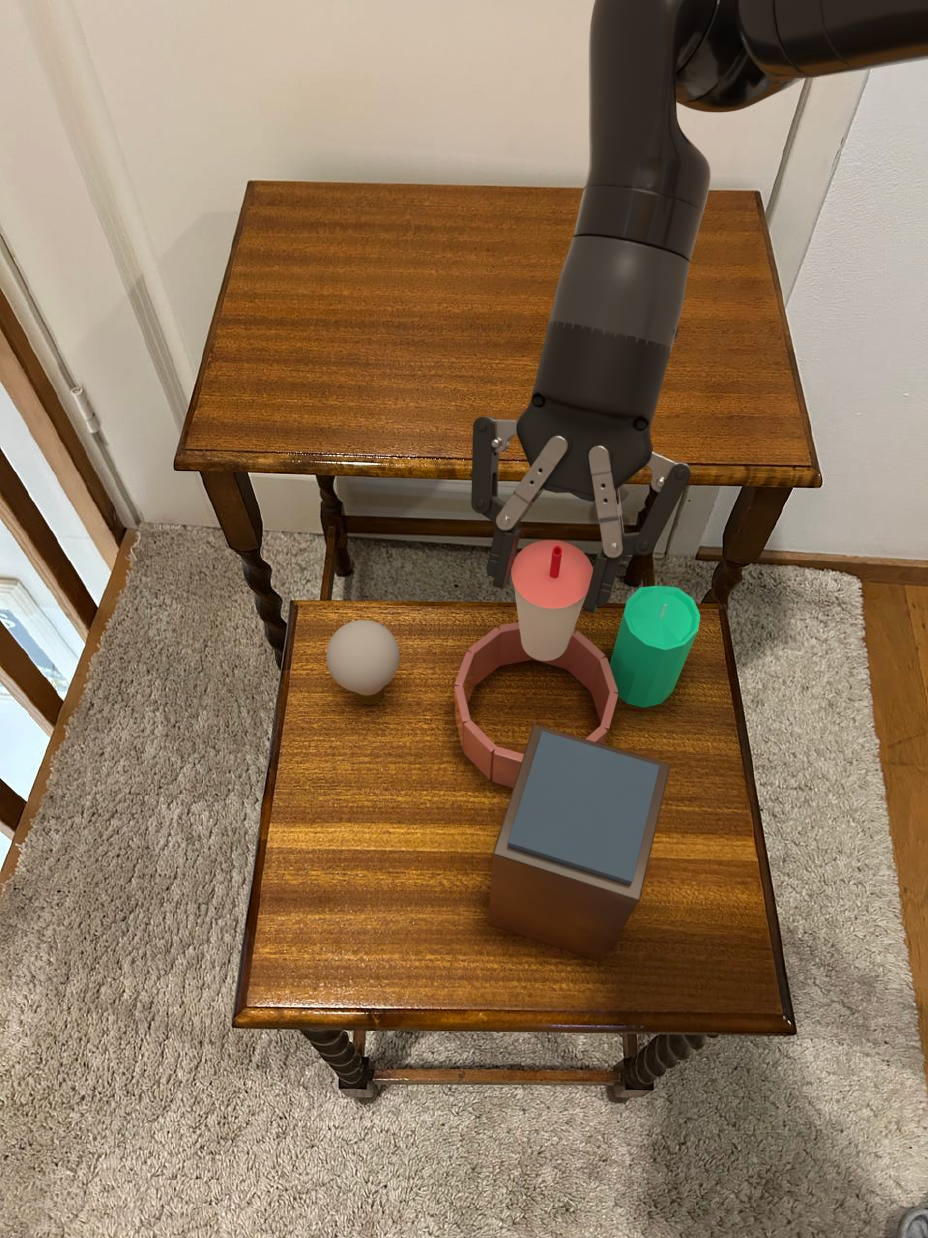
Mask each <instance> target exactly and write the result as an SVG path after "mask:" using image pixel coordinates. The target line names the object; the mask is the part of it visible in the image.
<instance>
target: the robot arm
mask: <svg viewBox="0 0 928 1238" xmlns="http://www.w3.org/2000/svg"><path fill="white" fill-rule="evenodd" d="M588 35H589V36H588V143H589V144H588V145H589V148H588V149H589V158H588V170H587V175H586V179H585V182H584V187H583V191H582V195H581V199H580V204H579V209H578V212H577V217H576V221H575V225H574V230H573V233H572V237H573V238H571V241H570V245H569V249H568V252H567V255H566V258H565V260H564V262H563V265H562V268H561V271H560V274H559V277H558V281H557V285H556V288H555V293H554V297H553V302H552V306H551V310H550V314H549V319H548V323H547V328H546V333H545V336H544V341H543V345H542V350H541V353H540V358H539V363H538V367H537V371H536V375H535V376H536V377H535V380H534V385H533V389H532V394H531V398H530V401H529V402H528V403H529V404H528V405H527V407H526V409H525V410H524V411H523V412H522V414H521V415H520V416H519V417H518V419H506V418H505V419H499V418H496V417H494V416H479V417H477V418H476V419H475V420H474V421H473V424H472V454H471V455H472V456H471V492H470V493H471V494H470V496H471V497H470V498H471V499H470V500H471V501H470V505H471V509H472V511H474V512H475V513H477V514H481V515H483V517H485V518H486V519H488V520H490V522H491V523H492V524H493V526H494V527H493V528H494V533H493V537H492V541H491V547H490V550H489V555H488V558H487V563H486V573H487V576H488V577H491V578H493V581H492V587H494V588H498V589H502V590H505V588H507V586H508V584H509V582H510V579H511V568H512V566H513V563H514V560H515V558H516V553H517V549H518V547H519V546H518V545H519V541H520V536H521V533H522V529H519V526H520V523H521V521H522V520H523V519H524V517H525V516H526V514H527V513H528V512H529V510H530V509H531V507H532V506H533V504H534V503H535V502H536V501H537V500H538V499H539V497H540V496H541V495H542V493H543V492H544V491H547V492H550V493H555V494H571V495H573V496H575V497H576V498H578V499H580V500H582V501H587V502H591V503H594V502H595V507H596V513H597V514H596V515H597V520H598V523H599V530H600V536H601V543H602V548H601V550H599V551H598V553H597V555H596V557H595V562H594V566H593V573H592V577H591V581H590V585H589V589H588V593H587V594H586V597H585V600H584V603H583V607H582V609H583V612H587V613H590V614H595V611H596V609H597V606H598V607H599V606H600V607H602V608H604V607H605V606H606V605H607V603H608V602H609V600H610V599H611V596H612V592H613V588H614V585H615V581H616V577H617V573H618V570H619V566H620V562H621V560H622V559H623V558H625V557H627V556H634V555H640V556H648V555H650V554H652V552H653V551H654V549H655V548H656V545H657V543H658V541H659V540H660V538H661V535H662V534H663V531H664V530H665V528H666V525H667V524H668V521H669V520H670V518H671V516H672V514H673V512H674V510H675V508H676V506H677V504H678V502H679V500H680V498H681V496H682V494H683V492H684V490H685V488H686V487H687V485H688V482H689V480H690V479H691V474H692V469H691V467H690V466H689V465H688V463H687V462H684V461H676V460H674V459H673V458H669V457H667V456H665V455H663V454H660V453H658V452H656V451H654V446H653V443H652V438H651V429H652V426H653V425H652V424H653V421H654V417H655V413H656V410H657V405H658V402H659V398H660V395H661V394H660V393H661V390H662V387H663V383H664V379H665V376H666V372H667V368H668V365H669V361H670V356H671V352H672V349H673V347H674V342H675V341H676V339H677V336H678V333H679V328H680V325H679V323H680V319H681V315H682V311H683V308H684V304H685V298H686V297H685V296H686V290H687V289H686V288H687V280H688V274H689V269H690V266H691V265H690V262H691V260H692V256H693V253H694V249H695V245H696V242H697V237H698V234H699V231H700V226H701V222H702V218H703V215H704V212H705V208H706V204H707V200H708V195H709V191H710V186H711V173H712V171H711V166H710V163H709V161H708V159H707V157H706V156H705V155H704V153H702V151H701V150H700V149H699V148H697V146H696V145H695V144H693V142H692V141H691V140H690V139H689V138H688V136H687V135H686V134H685V132H683V130H682V128H681V126H680V123H679V120H678V111H677V109H678V107H677V104H679V105H680V106H683V107H686V108H687V109H690V110H694V111H697V112H702V113H703V112H704V113H730V112H736V111H737V112H738V111H740V110H743V109H747V108H749V107H751V106H753V105H756V104H758V103H759V102H763V101H764V100H765V99H767V98H770V97H773V96H774V95H776V94H779V93H780V92H781V93H782V92H783V91H785V90H787V89H789V88H791V87H792V86H795V85H796V84H797V83H799V82H801V81H802V80H804V79H812V78H813V79H814V78H820V77H821V78H822V77H829V76H835V75H842V74H849V73H853V72H862V71H867V70H874V69H879V68H884V67H890V66H895V65H902V64H908V63H914V62H919V61H927V60H928V0H594V3H593V8H592V13H591V18H590V25H589V32H588ZM515 436H517V438H518V440H519V443H520V446H521V449H522V451H523V453H524V455H525V458H526V461H527V462H528V465H529V469H528V470H527V472H526V473H525V474H524V476H523V477H522V479H521V480H520V482H519V483H518V485H517V486H516V487H515V489H514V490H513V493H512V494H511V496H510V497H509V498H508V500H507V501H504V500H502V499H501V498H499V497H498V493H499V492H498V491H499V487H498V486H499V463H500V462H499V460H500V458H499V457H500V456H499V455H500V453H504V452H505V451H507V449H509V446H510V442H511V440H512V438H513V437H515ZM645 467H648V468H649V469H650V471H651V473H652V474H651V479H650V486H651V488H652V489H653V491H655V492H656V493H657V496H656V497H655V500H654V502H653V504H652V506H651V508H650V510H649V512H648V514H647V516H646V518H645V520H644V522H643V524H642V526H641V528H640V530H639V531H637V532H628V533H627V532H626V533H625V530H624V529H625V528H624V521H623V509H622V503H621V502H622V501H621V494H620V488H621V487H622V486H623V485H624V484H625V483H627V482H629V480H630V479H632V478H633V477H634V476H635V475H637V474H638V473H639V472H640V471H641V470H642V469H644V468H645Z"/></svg>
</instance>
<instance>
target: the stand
mask: <svg viewBox="0 0 928 1238" xmlns="http://www.w3.org/2000/svg"><path fill="white" fill-rule="evenodd" d="M542 731H544V732H547V733H550V734H554V735H557V736H561V737H564V738H567V739H571V740H574V741H578V742H581V743H584V744H588V745H591V746H595V747H598V748H601V749H605V750H608V751H612V752H615V753H618V754H622V755H625V756H629V757H632V758H635V759H639V760H642V761H646V762H649V763H652V764H656V765H659V766H660V768H659V772H658V776H657V781H656V785H655V789H654V793H653V798H652V802H651V806H650V810H649V815H648V819H647V823H646V828H645V832H644V836H643V840H642V845H641V849H640V853H639V857H638V862H637V866H636V870H635V875H634V879H633V882H632V884H631V885H628V884H625V883H621V882H618V881H615V880H612V879H609V878H606V877H603V876H599V875H596V874H593V873H590V872H587V871H584V870H580V869H577V868H574V867H571V866H568V865H565V864H562V863H558V862H555V861H552V860H549V859H546V858H543V857H540V856H536V855H533V854H530V853H527V852H524V851H521V850H517V849H514V848H511V847H508V846H507V844H508V839H509V836H510V833H511V830H512V826H513V823H514V820H515V817H516V813H517V810H518V807H519V804H520V801H521V797H522V794H523V791H524V788H525V784H526V781H527V778H528V775H529V771H530V768H531V765H532V762H533V759H534V755H535V752H536V749H537V746H538V742H539V739H540V736H541V733H542ZM523 754H524V756H523V759H522V762H521V766H520V769H519V772H518V775H517V778H516V781H515V785H514V788H512V791H511V793H510V798H509V801H508V803H507V807H506V810H505V814H504V817H503V820H502V823H501V825H500V829H499V832H498V836H497V839H496V841H495V845H494V848H493V851H492V861H491V873H490V877H491V878H490V889H489V903H488V917H487V920H488V921H487V925H489V926H492V927H495V928H498V929H501V930H503V931H507V932H509V933H512V934H515V935H518V936H521V937H525V938H527V939H531V940H533V941H537V942H540V943H541V944H545V945H548V946H551V947H555V948H558V949H561V950H563V951H566V952H569V953H573V954H575V955H578V956H582V957H585V958H587V959H590V960H594V961H595V962H596V961H597V962H600V963H603V962H604V960H605V959H606V957H607V955H608V954H609V951H610V950H611V948H612V947H613V945H614V944H615V942H616V940H617V939H618V937H619V935H620V934H621V932H622V930H623V929H624V927H625V925H627V922H628V921H629V919H630V917H631V915H632V914H633V912H634V910H635V909H636V907H637V906H638V904H639V903H640V900H641V897H642V893H643V888H644V884H645V879H646V875H647V870H648V866H649V861H650V858H651V854H652V849H653V843H654V840H655V835H656V832H657V827H658V823H659V817H660V815H661V809H662V804H663V801H664V797H665V792H666V788H667V783H668V779H669V776H670V775H669V774H670V770H671V764H670V763H669V762H666V761H662V760H658V759H655V758H652V757H649V756H644V755H641V754H639V753H634V752H631V751H628V750H624V749H622V748H617V747H614V746H611V745H607V744H601V743H597V742H594V741H590V740H587V739H586V738H583V737H581V736H577V735H573V734H570V733H566V732H563V731H560V730H556V729H552V728H549V727H546V726H543V725H539V724H535V723H534V724H533V725H532V728H531V730H530V734H529V737H528V740H527V743H526V746H525V750H524V753H523Z"/></svg>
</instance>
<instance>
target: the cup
mask: <svg viewBox="0 0 928 1238" xmlns="http://www.w3.org/2000/svg"><path fill="white" fill-rule="evenodd" d="M593 569H594V567H593V566H592V563H591V561H590V559H589V558H588V556H587V555H586V553H584V552H583V551H582V550H581V549H580V548H578V547H577V546H576V545H573V544H571V543H569V542H566V541H563V540H557V539H546V540H545V539H544V540H539V541H535V542H532V543H531V544H529V545H527V546H525V547H524V548H522V550H520V551H519V552H518V553H517V555H515V558H514V563H513V566H512V568H511V575H510V579H511V582H512V584H513V586H514V594H515V603H516V604H515V605H516V611H517V612H516V613H517V618H518V619H517V620H518V621H517V622H519V629H520V635H521V643H522V646H523V649H524V650H525V652H526V653H527V654H528V655H529V656H531V657H532V658H534V659H537V660H541V661H550V660H554V659H556V658H558V657H560V656H561V655H562V654H563V653H564V652H565V650H566V648H567V645H568V643H569V640H570V638H571V635H572V632H573V630H574V629H575V627H576V624H577V621H578V619H579V616H580V613H581V610H582V609H583V606H584V604H585V600H586V597H587V593H588V589H589V585H590V581H591V577H592V573H593Z"/></svg>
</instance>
